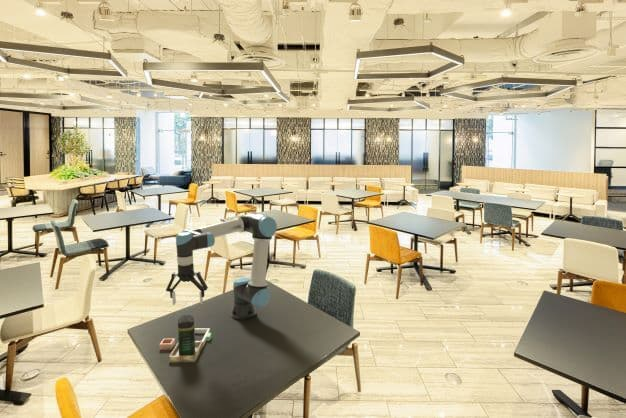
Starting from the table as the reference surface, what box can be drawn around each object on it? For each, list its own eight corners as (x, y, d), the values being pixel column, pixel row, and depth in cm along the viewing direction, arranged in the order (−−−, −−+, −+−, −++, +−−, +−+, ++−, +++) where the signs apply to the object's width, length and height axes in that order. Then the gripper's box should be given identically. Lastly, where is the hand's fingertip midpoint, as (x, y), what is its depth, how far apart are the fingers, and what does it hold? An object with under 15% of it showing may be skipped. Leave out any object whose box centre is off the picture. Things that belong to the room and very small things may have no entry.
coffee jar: (195, 356, 183) (194, 321, 180) (178, 358, 181) (176, 323, 178) (195, 346, 192) (194, 312, 189) (179, 348, 190) (177, 314, 187)
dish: (175, 343, 196) (175, 338, 196) (171, 349, 190) (171, 344, 190) (163, 343, 196) (163, 338, 196) (159, 349, 190) (159, 344, 190)
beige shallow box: (202, 346, 194) (202, 341, 193) (195, 362, 180) (195, 356, 179) (178, 346, 193) (178, 341, 193) (169, 362, 179) (168, 356, 179)
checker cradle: (213, 332, 209) (213, 328, 209) (207, 346, 194) (207, 341, 194) (186, 332, 208) (186, 328, 208) (178, 346, 194) (178, 342, 193)
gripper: (212, 260, 190) (214, 299, 193) (162, 261, 188) (165, 301, 191) (209, 265, 182) (211, 305, 186) (157, 266, 180) (160, 307, 184)
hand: (187, 303), depth 189 cm, fingers open, 13 cm apart
